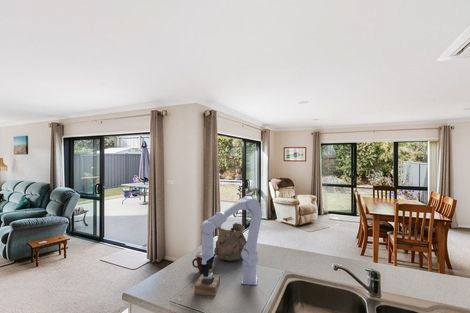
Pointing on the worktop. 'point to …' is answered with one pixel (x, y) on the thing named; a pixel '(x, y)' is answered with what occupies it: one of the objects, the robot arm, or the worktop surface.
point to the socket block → (207, 286)
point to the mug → (198, 259)
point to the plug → (208, 279)
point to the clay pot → (230, 243)
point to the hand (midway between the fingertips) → (207, 272)
